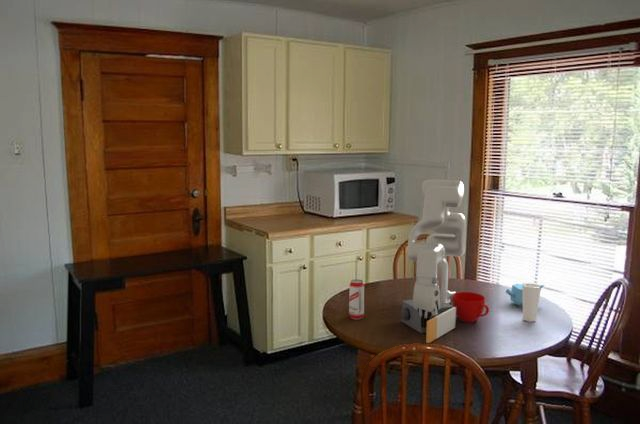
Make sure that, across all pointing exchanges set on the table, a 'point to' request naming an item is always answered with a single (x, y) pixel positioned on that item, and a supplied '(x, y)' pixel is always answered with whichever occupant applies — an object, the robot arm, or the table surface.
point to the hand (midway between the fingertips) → (425, 326)
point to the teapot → (517, 294)
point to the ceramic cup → (469, 306)
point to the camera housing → (413, 317)
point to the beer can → (356, 299)
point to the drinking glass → (530, 301)
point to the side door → (440, 324)
